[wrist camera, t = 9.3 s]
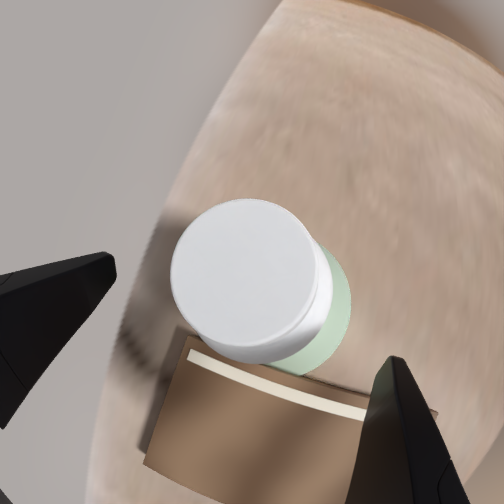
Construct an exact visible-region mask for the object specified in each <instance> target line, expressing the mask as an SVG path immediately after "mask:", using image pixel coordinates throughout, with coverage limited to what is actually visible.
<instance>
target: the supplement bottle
mask: <svg viewBox="0 0 504 504" xmlns="http://www.w3.org/2000/svg"><path fill="white" fill-rule="evenodd" d="M170 283H171V290H172V294H173V297H174V300H175V303H176V305H177V307H178V309H179V311H180V312H181V314H182V316H183V317H184V319H185V320H186V321H187V322H188V323H189V324H190V325H191V326H192V327H193V328H194V329H195V330H196V332H197V333H198V335H199V336H200V337H201V339H202V340H203V341H204V342H205V343H206V344H207V345H208V346H209V347H211V348H212V349H213V350H215V351H216V352H217V353H219V354H221V355H223V356H225V357H227V358H229V359H231V360H235V361H238V362H242V363H249V364H266V363H272V362H276V361H280V360H283V359H285V358H287V357H290V356H292V355H294V354H295V353H297V352H299V351H300V350H301V349H303V348H304V347H306V346H307V345H308V344H309V343H310V342H311V341H312V340H313V339H314V338H315V337H316V335H317V334H318V332H319V331H320V329H321V328H322V326H323V324H324V323H325V321H326V318H327V316H328V313H329V310H330V307H331V303H332V297H333V280H332V274H331V270H330V266H329V263H328V261H327V258H326V256H325V254H324V253H323V251H322V249H321V248H320V246H319V245H318V244H317V242H316V241H315V240H314V239H313V238H312V237H311V236H310V234H309V232H308V231H307V229H306V228H305V227H304V225H303V224H302V223H301V222H300V221H299V220H298V219H297V218H296V217H295V216H294V215H293V214H292V213H290V212H289V211H287V210H286V209H284V208H283V207H281V206H279V205H276V204H274V203H271V202H268V201H264V200H259V199H250V198H247V199H236V200H230V201H227V202H224V203H221V204H218V205H216V206H214V207H212V208H210V209H208V210H206V211H205V212H203V213H202V214H201V215H199V216H198V217H197V218H196V219H195V220H194V221H193V222H192V223H191V224H190V225H189V226H188V227H187V228H186V230H185V231H184V232H183V234H182V235H181V237H180V239H179V241H178V243H177V245H176V247H175V250H174V253H173V256H172V261H171V268H170Z"/></svg>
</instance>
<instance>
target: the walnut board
mask: <svg viewBox="0 0 504 504" xmlns="http://www.w3.org/2000/svg"><path fill="white" fill-rule="evenodd" d="M369 400H370V396H368V395H364V394H360V393H356V392H353V391H349V390H345V389H342V388H338V387H335V386H331V385H328V384H325V383H321V382H318V381H315V380H311V379H308V378H305V377H302V376H296V375H293V374H290V373H287V372H284V371H281V370H278V369H276V368H273V367H270V366H267V365H264V364H249V363H242V362H238V361H235V360H231V359H229V358H227V357H225V356H223V355H221V354H219V353H217V352H216V351H215V350H213V349H212V348H211V347H209V346H208V345H207V344H206V343H205V342H204V341H203V340H202V339H201V338H199V337H197V336H193V335H188V336H187V339H186V342H185V344H184V347H183V350H182V352H181V355H180V358H179V361H178V363H177V366H176V369H175V372H174V374H173V377H172V380H171V383H170V385H169V388H168V391H167V394H166V397H165V400H164V402H163V405H162V408H161V411H160V414H159V417H158V420H157V423H156V426H155V429H154V431H153V434H152V437H151V440H150V443H149V446H148V449H147V452H146V456H145V459H144V462H143V464H144V465H145V466H147V467H149V468H151V469H152V470H154V471H156V472H158V473H159V474H161V475H163V476H165V477H167V478H169V479H171V480H173V481H174V482H176V483H178V484H180V485H182V486H185V487H187V488H189V489H191V490H193V491H195V492H197V493H200V494H202V495H204V496H206V497H209V498H211V499H214V500H216V501H219V502H221V503H224V504H345V501H346V497H347V493H348V490H349V486H350V482H351V478H352V474H353V470H354V465H355V461H356V456H357V451H358V446H359V441H360V436H361V431H362V426H363V422H364V418H365V415H366V411H367V407H368V404H369ZM429 410H430V412H431V414H432V416H433V418H434V420H436V418H437V415H438V412H436V411H434V410H432V409H429Z"/></svg>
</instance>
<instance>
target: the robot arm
mask: <svg viewBox="0 0 504 504" xmlns="http://www.w3.org/2000/svg"><path fill="white" fill-rule="evenodd" d="M116 277H117V273H116V266H115V259H114V257H113V256H112V255H111V254H109V253H107V252H99V253H94V254H89V255H85V256H80V257H76V258H71V259H67V260H63V261H58V262H54V263H49V264H45V265H41V266H37V267H33V268H28V269H24V270H20V271H16V272H12V273H8V274H4V275H0V428H1V429H4V428H5V427H6V426H7V424H8V422H9V421H10V419H11V418H12V416H13V415H14V413H15V412H16V410H17V409H18V407H19V406H20V405H21V403H22V402H23V400H24V399H25V398H26V396H27V395H28V393H29V391H30V390H31V389H32V388H33V386H34V385H35V383H36V382H37V381H38V379H39V378H40V377H41V375H42V374H43V373H44V371H45V370H46V369H47V367H48V366H49V365H50V364H51V362H52V361H53V360H54V358H55V357H56V356H57V355H58V353H59V352H60V351H61V350H62V348H63V347H64V346H65V345H66V343H67V342H68V341H69V340H70V338H71V337H72V336H73V335H74V334H75V333H76V331H77V330H78V329H79V328H80V327H81V325H82V324H83V323H84V322H85V321H86V320H87V318H88V317H89V316H90V315H91V314H92V312H93V311H94V310H95V308H96V307H97V305H98V304H99V303H100V301H101V300H102V299H103V297H104V296H105V294H106V293H107V292H108V290H109V289H110V288H111V286H112V285H113V284H114V282H115V280H116ZM450 458H451V457H450V455H449V452H448V450H447V447H446V445H445V443H444V440H443V438H442V436H441V433H440V431H439V429H438V427H437V425H436V422H435V420H434V418H433V416H432V414H431V412H430V410H429V407H428V405H427V403H426V401H425V399H424V397H423V395H422V393H421V391H420V389H419V387H418V385H417V383H416V381H415V379H414V377H413V375H412V373H411V371H410V370H409V368H408V366H407V364H406V362H405V360H404V359H403V358H400V357H396V356H389V357H388V358H387V360H386V361H385V363H384V364H383V366H382V367H381V368H380V370H379V371H378V373H377V374H376V377H375V380H374V384H373V388H372V392H371V396H370V400H369V404H368V407H367V411H366V415H365V418H364V422H363V426H362V431H361V436H360V441H359V446H358V451H357V456H356V461H355V465H354V470H353V474H352V478H351V482H350V486H349V490H348V493H347V497H346V501H345V504H470V502H469V500H468V497H467V495H466V493H465V491H464V489H463V486H462V484H461V482H460V479H459V477H458V474H457V472H456V469H455V467H454V464H453V462H452V460H450ZM0 504H13V503H12V502H11V501H10V500H9V499H8V498H7V496H6V495H5V494H4V493H3V492H2V490H1V489H0Z"/></svg>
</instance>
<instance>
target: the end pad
mask: <svg viewBox="0 0 504 504" xmlns="http://www.w3.org/2000/svg"><path fill="white" fill-rule="evenodd" d="M317 244H318V245H319V246H320V248H321V249H322V251H323V253H324V254H325V256H326V258H327V261H328V263H329V266H330V270H331V274H332V280H333V297H332V303H331V307H330V310H329V313H328V316H327V318H326V321H325V323H324V324H323V326H322V328H321V329H320V331H319V332H318V334H317V335H316V337H315V338H314V339H313V340H312V341H311V342H310V343H309V344H308V345H307V346H306V347H304V348H303V349H301V350H300V351H299V352H297V353H295V354H294V355H292V356H290V357H287V358H285V359H283V360H280V361H276V362H272V363H266V364H264V365H267V366H270V367H273V368H276V369H278V370H281V371H284V372H287V373H290V374H293V375H296V376H300V375H303V374H305V373H307V372H309V371H311V370H313V369H315V368H316V367H318V366H319V365H321V364H322V363H323V362H324V361H325V360H327V359H328V358H329V357H330V356H331V355H332V353H333V352H334V351H335V350H336V348H337V347H338V345H339V344H340V342H341V341H342V339H343V337H344V335H345V332H346V330H347V327H348V323H349V319H350V313H351V296H350V289H349V285H348V281H347V279H346V276H345V274H344V272H343V270H342V268H341V266H340V264H339V263H338V262H337V260H336V259H335V258H334V256H333V255H332V254H331V253H330V252H329V251H328V250H327V249H325V248H324V247H323V246H322V245H320V244H319V243H317Z"/></svg>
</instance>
